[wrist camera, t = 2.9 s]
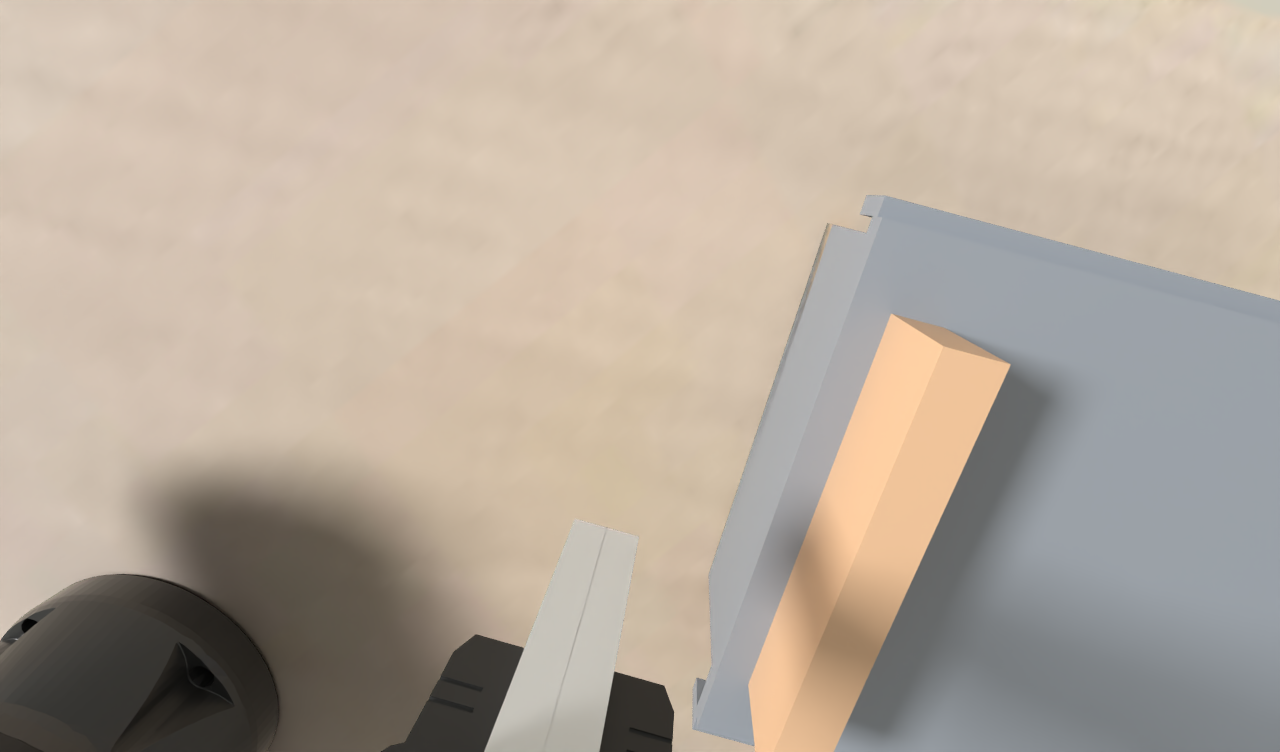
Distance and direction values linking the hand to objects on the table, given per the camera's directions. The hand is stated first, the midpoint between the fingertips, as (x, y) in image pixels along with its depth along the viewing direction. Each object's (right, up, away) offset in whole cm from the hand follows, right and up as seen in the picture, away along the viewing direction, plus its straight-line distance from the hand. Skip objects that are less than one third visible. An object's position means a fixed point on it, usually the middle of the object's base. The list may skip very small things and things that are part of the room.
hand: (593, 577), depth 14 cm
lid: (+15, -1, +8) cm, 17 cm away
